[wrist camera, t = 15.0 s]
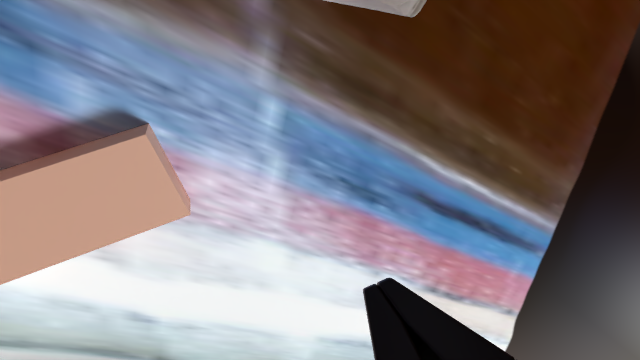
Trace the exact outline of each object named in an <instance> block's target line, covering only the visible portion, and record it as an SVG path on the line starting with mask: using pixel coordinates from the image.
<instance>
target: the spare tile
mask: <svg viewBox="0 0 640 360" xmlns="http://www.w3.org/2000/svg"><path fill="white" fill-rule="evenodd" d="M188 215H190V198H189V197H188V195H187V193H186V191H185V189H184V187H183V185H182V184H181V182H180V180H179V178H178V176H177V174H176V173H175V171H174V169H173V167H172V165H171V163H170V162H169V160H168V158H167V156H166V154H165V152H164V150H163V149H162V147H161V145H160V143H159V141H158V139H157V138H156V136H155V134H154V132H153V130H152V128H151V126H150V125H149V123H148V124H145V125H142V126H139V127H136V128H132V129H129V130H126V131H123V132H120V133H117V134H114V135H111V136H107V137H104V138H101V139H98V140H95V141H92V142H89V143H85V144H82V145H79V146H76V147H73V148H70V149H67V150H64V151H60V152H57V153H54V154H51V155H48V156H45V157H42V158H38V159H35V160H32V161H29V162H26V163H23V164H20V165H17V166H13V167H10V168H7V169H4V170H1V171H0V285H1V284H3V283H6V282H9V281H12V280H14V279H17V278H20V277H23V276H25V275H28V274H31V273H33V272H36V271H39V270H42V269H44V268H47V267H50V266H52V265H55V264H58V263H61V262H63V261H66V260H69V259H71V258H74V257H77V256H80V255H82V254H85V253H88V252H90V251H93V250H96V249H99V248H101V247H104V246H107V245H109V244H112V243H115V242H118V241H120V240H123V239H126V238H128V237H131V236H134V235H137V234H139V233H142V232H145V231H147V230H150V229H153V228H156V227H158V226H161V225H164V224H166V223H169V222H172V221H175V220H177V219H180V218H183V217H185V216H188Z"/></svg>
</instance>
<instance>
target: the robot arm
mask: <svg viewBox="0 0 640 360" xmlns="http://www.w3.org/2000/svg"><path fill="white" fill-rule="evenodd" d="M363 294H364V300H365V306H366V311H367V317H368V323H369V329H370V335H371V340H372V346H373V352H374V358H375V360H515V359H514V357H513V356H511V355H509V354H508V353H506V352H505V351H503V350H502V349H500V348H499V347H497V346H496V345H494V344H492V343H491V342H489V341H488V340H486V339H485V338H483V337H482V336H480V335H479V334H477V333H476V332H474V331H472V330H471V329H469V328H468V327H466V326H465V325H463V324H462V323H460V322H459V321H457V320H455V319H454V318H452V317H451V316H449V315H448V314H446V313H445V312H443V311H442V310H440V309H439V308H437V307H435V306H434V305H432V304H431V303H429V302H428V301H426V300H425V299H423V298H422V297H420V296H418V295H417V294H415V293H414V292H412V291H411V290H409V289H408V288H406V287H405V286H403V285H402V284H400V283H398V282H397V281H395V280H394V279H392V278H386V279H384V280H382V281H379V282H378V283H377V285H376V284H373V285H370V286H368V287H366V288H364V289H363Z"/></svg>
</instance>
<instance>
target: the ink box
mask: <svg viewBox="0 0 640 360" xmlns="http://www.w3.org/2000/svg"><path fill="white" fill-rule="evenodd" d="M325 1H330V2H335V3H341V4H347V5H352V6H357V7H363V8H368V9H372V10H379V11H383V12H388V13H393V14H398V15H402V16H409V17H414V16H416V15H417V14H418V13H419V12H420V10H421V8H422V7H423V5H424V4H425V2H426V1H427V0H325Z"/></svg>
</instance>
